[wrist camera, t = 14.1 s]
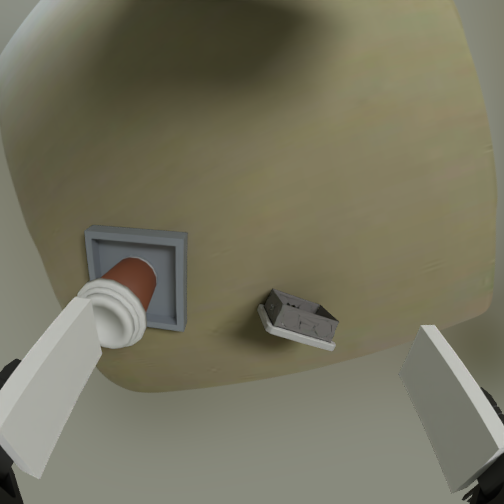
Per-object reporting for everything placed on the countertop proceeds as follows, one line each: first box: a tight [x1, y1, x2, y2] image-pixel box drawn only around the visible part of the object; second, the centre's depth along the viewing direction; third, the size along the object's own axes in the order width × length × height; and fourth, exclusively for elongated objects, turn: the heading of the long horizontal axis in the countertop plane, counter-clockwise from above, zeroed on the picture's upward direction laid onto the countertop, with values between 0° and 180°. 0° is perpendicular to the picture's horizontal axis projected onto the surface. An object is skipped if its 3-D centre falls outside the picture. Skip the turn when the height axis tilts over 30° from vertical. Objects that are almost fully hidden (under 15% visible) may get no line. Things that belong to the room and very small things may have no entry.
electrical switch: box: [257, 289, 339, 351], centre depth 40 cm, size 9×5×9 cm, turn 68°
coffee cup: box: [77, 255, 158, 349], centre depth 36 cm, size 9×9×12 cm
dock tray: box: [84, 225, 188, 332], centre depth 41 cm, size 14×14×2 cm
